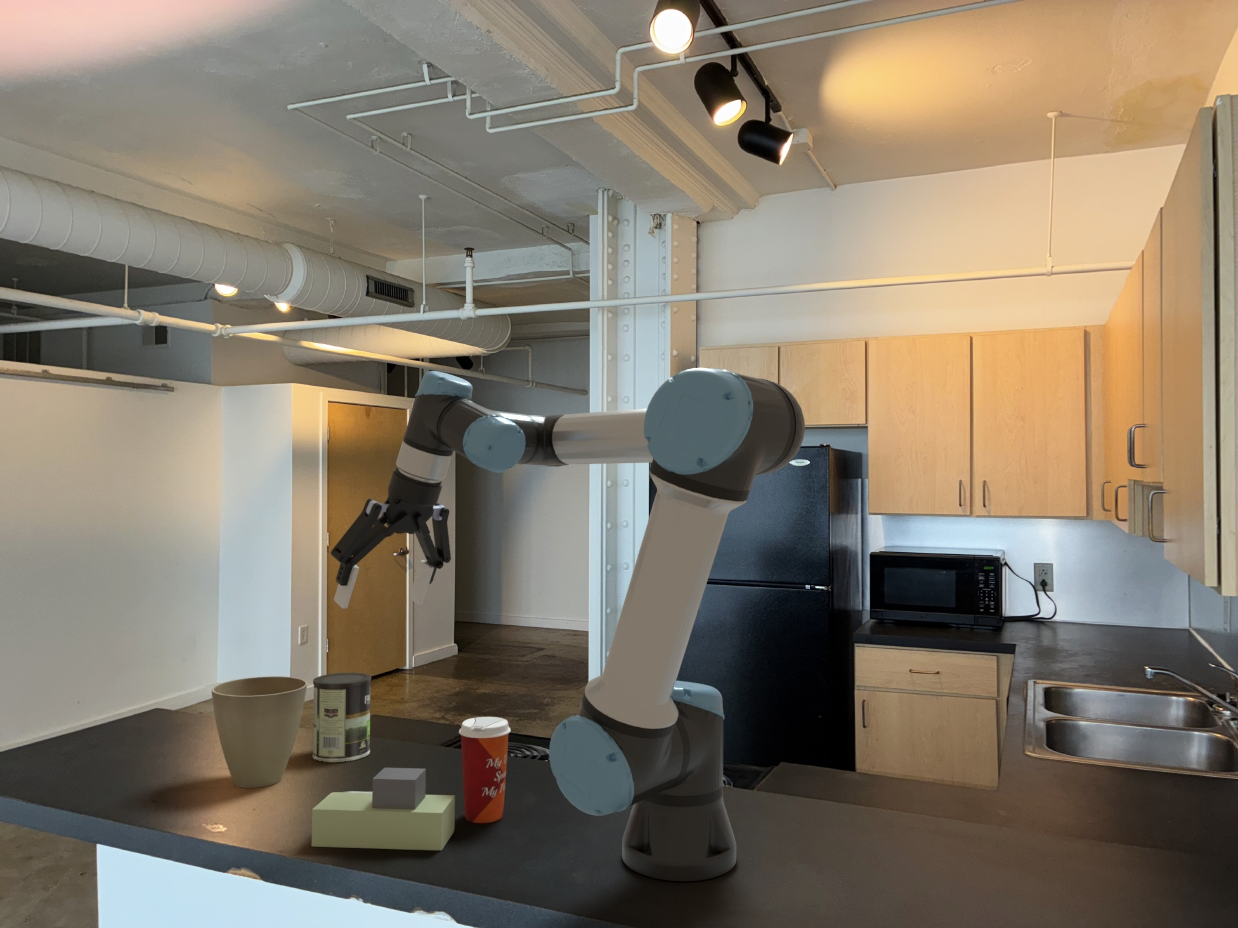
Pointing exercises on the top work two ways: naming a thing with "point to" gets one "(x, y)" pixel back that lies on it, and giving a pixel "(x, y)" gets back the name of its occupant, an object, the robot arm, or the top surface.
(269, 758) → the plant pot
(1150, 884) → the top surface
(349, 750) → the coffee can
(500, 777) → the paper cup
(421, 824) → the green block with cube
